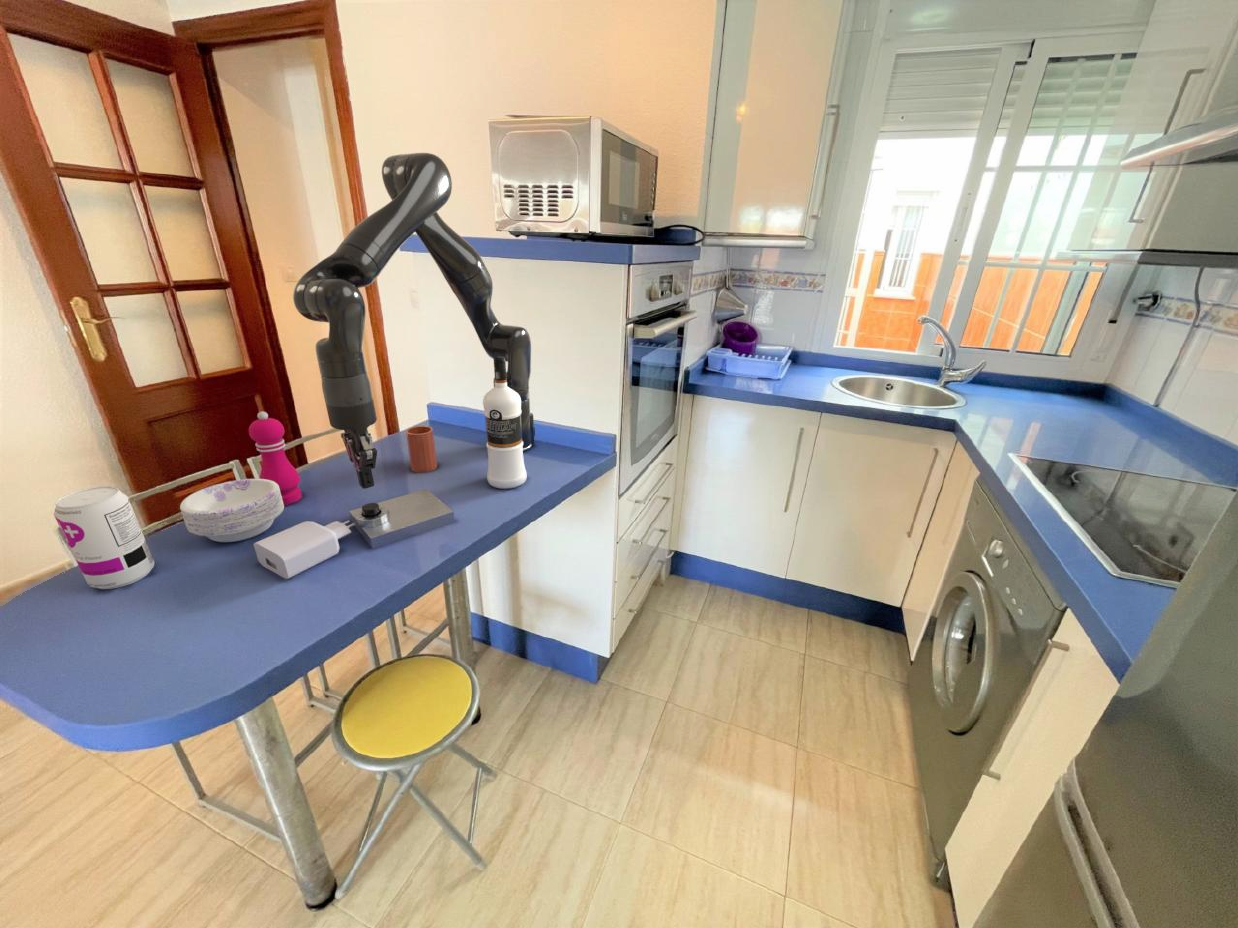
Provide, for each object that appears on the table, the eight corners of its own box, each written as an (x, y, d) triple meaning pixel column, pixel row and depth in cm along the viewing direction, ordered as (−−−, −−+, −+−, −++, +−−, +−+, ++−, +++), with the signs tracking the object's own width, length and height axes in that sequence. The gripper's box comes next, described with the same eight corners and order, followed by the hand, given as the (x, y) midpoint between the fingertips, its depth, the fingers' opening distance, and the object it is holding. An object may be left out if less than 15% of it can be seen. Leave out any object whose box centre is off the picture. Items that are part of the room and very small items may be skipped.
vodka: (534, 477, 123) (528, 355, 111) (513, 493, 115) (505, 363, 103) (501, 471, 126) (493, 351, 114) (479, 485, 118) (468, 358, 106)
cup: (431, 460, 130) (426, 424, 126) (441, 468, 126) (436, 431, 122) (407, 466, 126) (402, 429, 122) (417, 474, 122) (411, 436, 118)
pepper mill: (311, 493, 112) (290, 407, 104) (289, 508, 105) (265, 418, 97) (281, 490, 113) (258, 405, 104) (257, 506, 106) (230, 416, 98)
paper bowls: (258, 504, 107) (248, 470, 103) (305, 522, 101) (296, 487, 98) (174, 538, 94) (160, 500, 91) (222, 560, 88) (208, 521, 85)
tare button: (377, 509, 99) (375, 501, 99) (382, 514, 97) (381, 507, 97) (361, 513, 97) (359, 505, 97) (366, 519, 95) (364, 511, 95)
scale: (428, 498, 112) (426, 482, 110) (454, 521, 103) (452, 504, 101) (348, 522, 101) (344, 504, 100) (370, 550, 93) (366, 531, 91)
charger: (369, 540, 96) (289, 581, 84) (339, 526, 100) (259, 564, 88) (365, 518, 94) (282, 557, 82) (334, 505, 98) (251, 541, 86)
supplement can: (99, 598, 78) (59, 514, 72) (82, 579, 82) (42, 499, 76) (164, 572, 85) (132, 493, 79) (144, 556, 89) (112, 480, 83)
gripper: (384, 403, 86) (400, 493, 93) (359, 386, 95) (375, 469, 102) (336, 412, 81) (357, 505, 88) (315, 393, 90) (335, 479, 97)
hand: (367, 486), depth 95 cm, fingers closed
